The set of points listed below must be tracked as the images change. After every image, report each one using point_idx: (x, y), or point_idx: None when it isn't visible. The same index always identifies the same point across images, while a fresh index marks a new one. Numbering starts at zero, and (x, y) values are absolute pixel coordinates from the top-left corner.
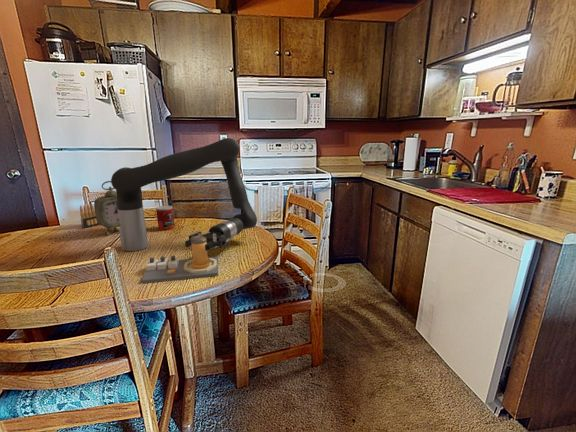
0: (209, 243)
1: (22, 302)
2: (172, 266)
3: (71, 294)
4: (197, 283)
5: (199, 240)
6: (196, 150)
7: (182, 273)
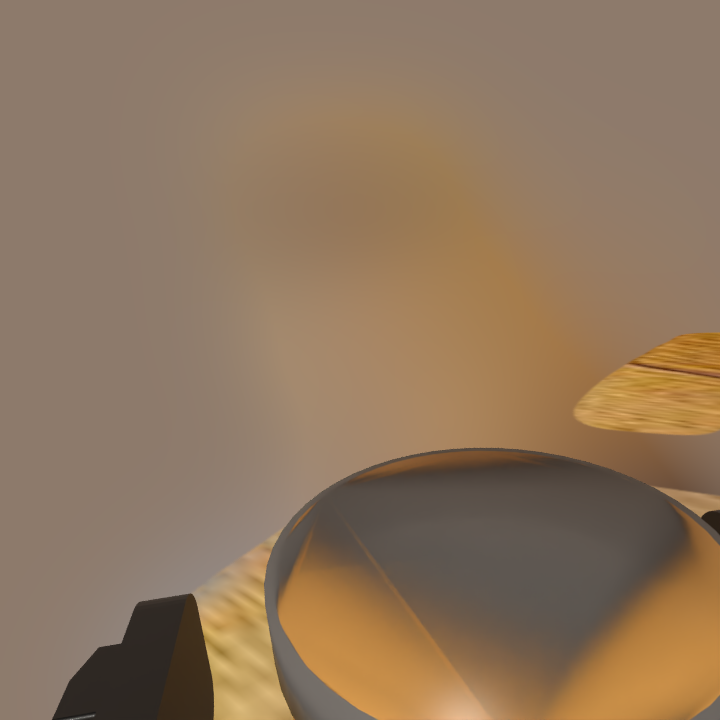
0: (109, 681)
1: (706, 343)
2: None
3: (679, 385)
4: (217, 698)
5: (375, 516)
6: None
7: None
